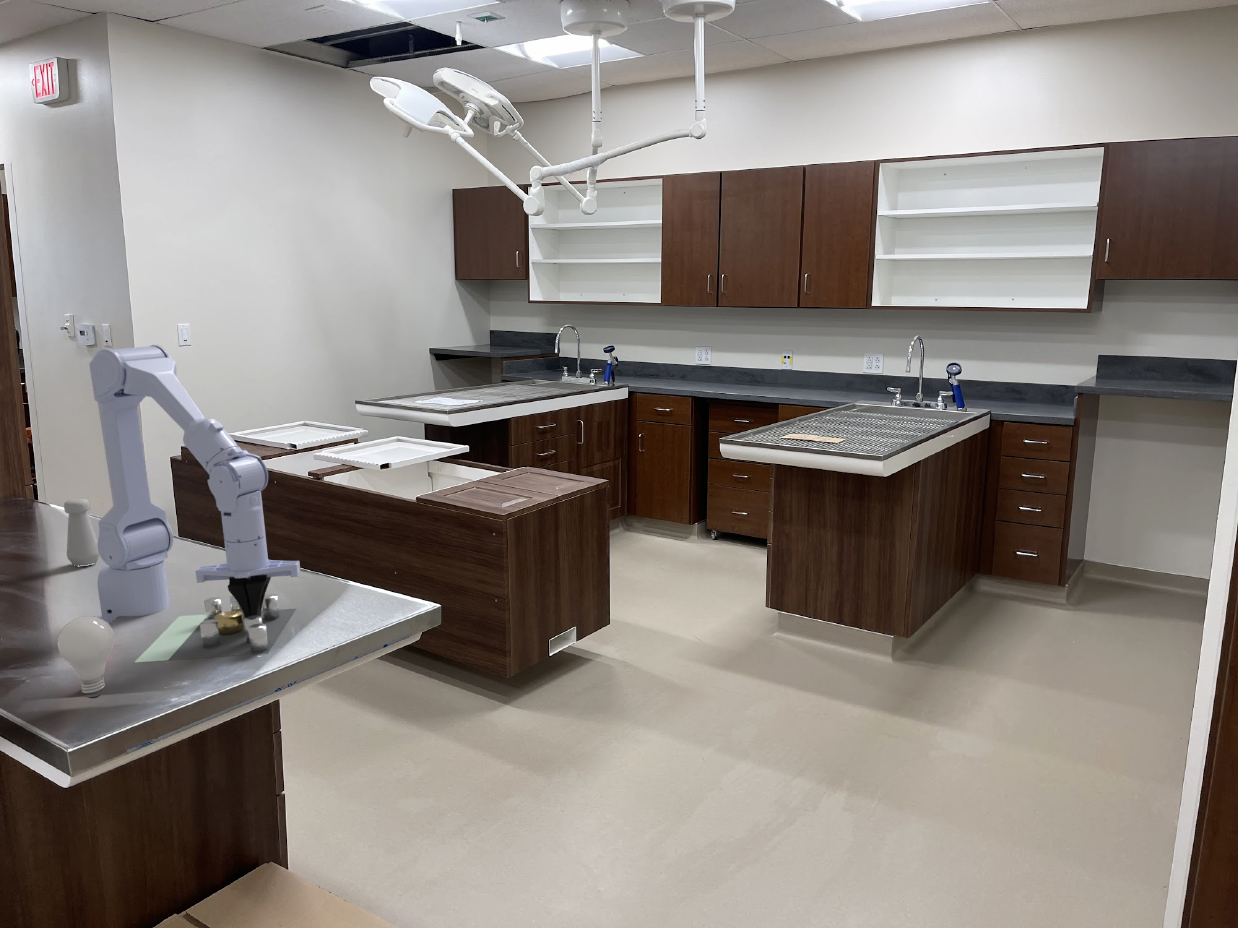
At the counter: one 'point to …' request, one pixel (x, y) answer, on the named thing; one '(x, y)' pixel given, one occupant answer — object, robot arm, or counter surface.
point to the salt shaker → (80, 533)
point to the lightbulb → (87, 650)
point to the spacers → (253, 624)
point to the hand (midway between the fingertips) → (254, 623)
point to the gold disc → (230, 622)
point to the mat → (187, 640)
